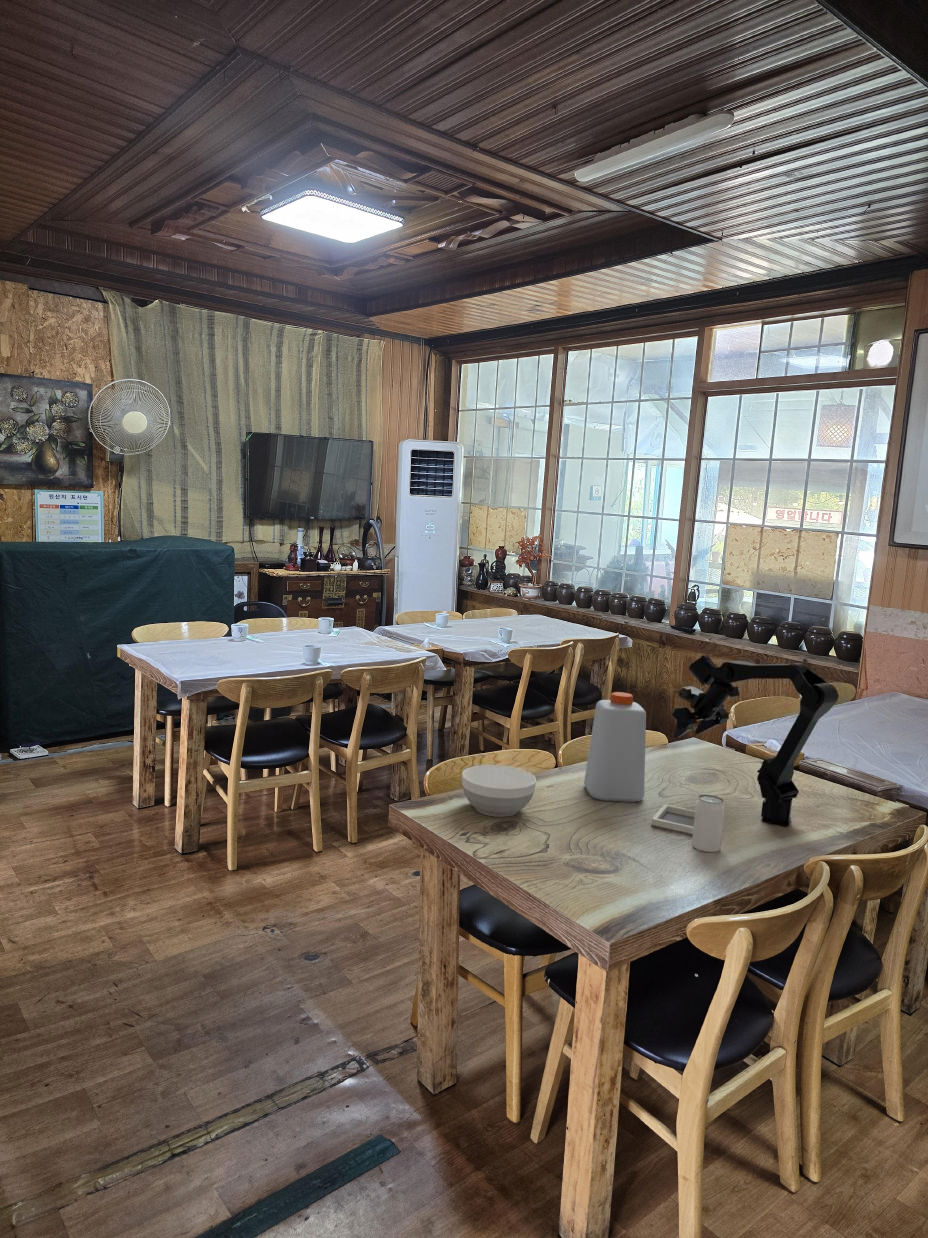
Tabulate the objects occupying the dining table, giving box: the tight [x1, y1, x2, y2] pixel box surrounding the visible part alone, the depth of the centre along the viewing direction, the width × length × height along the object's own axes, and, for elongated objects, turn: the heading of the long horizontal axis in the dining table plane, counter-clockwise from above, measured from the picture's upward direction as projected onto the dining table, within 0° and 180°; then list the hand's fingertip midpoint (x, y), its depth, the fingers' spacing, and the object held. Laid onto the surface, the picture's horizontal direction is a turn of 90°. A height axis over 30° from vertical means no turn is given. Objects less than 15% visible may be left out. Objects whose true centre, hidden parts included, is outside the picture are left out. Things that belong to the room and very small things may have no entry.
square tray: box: [650, 803, 695, 837], centre depth 211 cm, size 13×13×2 cm
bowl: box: [461, 764, 537, 818], centre depth 213 cm, size 19×19×9 cm
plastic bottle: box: [583, 691, 647, 803], centre depth 230 cm, size 15×15×28 cm
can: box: [691, 793, 726, 854], centre depth 196 cm, size 6×6×12 cm
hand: (685, 735), depth 241 cm, fingers open, 9 cm apart
